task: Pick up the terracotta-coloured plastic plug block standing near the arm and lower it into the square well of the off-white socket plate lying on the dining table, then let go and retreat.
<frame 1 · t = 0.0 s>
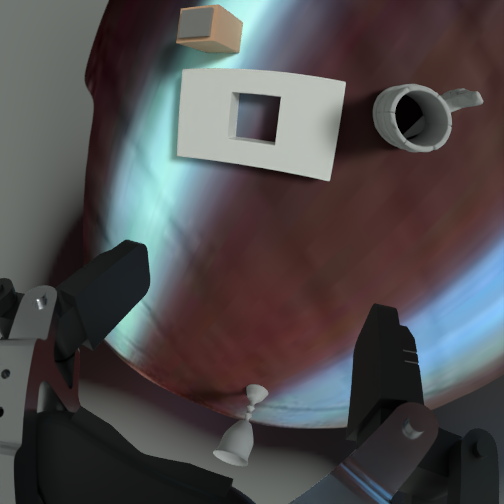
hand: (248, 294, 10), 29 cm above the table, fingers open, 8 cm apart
mug: (414, 110, 28), on the table
socket plate: (259, 117, 34), on the table
plug: (224, 37, 30), on the table
chalice: (257, 390, 60), on the table
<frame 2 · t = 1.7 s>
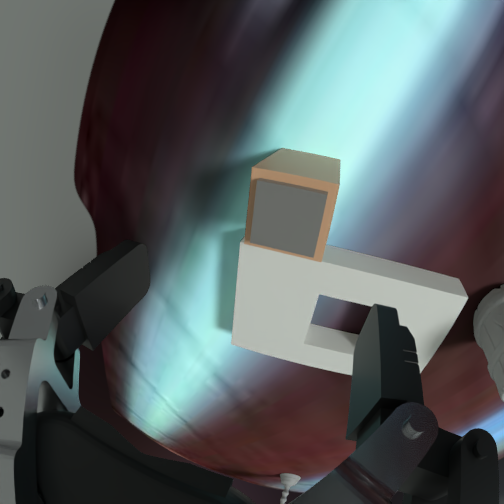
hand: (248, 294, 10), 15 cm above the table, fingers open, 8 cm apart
socket plate: (344, 307, 26), on the table
plug: (306, 181, 22), on the table
chalice: (290, 476, 52), on the table
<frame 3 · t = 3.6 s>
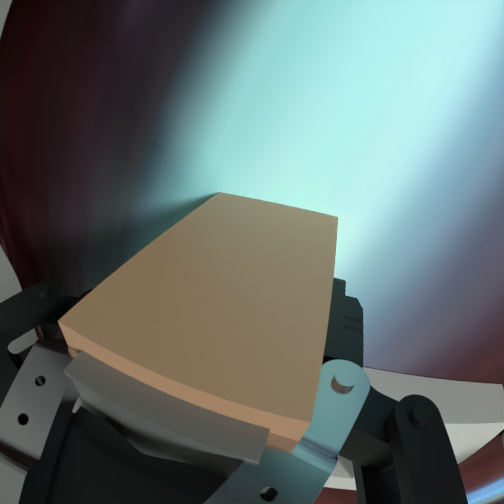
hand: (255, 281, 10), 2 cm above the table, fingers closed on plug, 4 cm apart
socket plate: (332, 421, 16), on the table
plug: (268, 257, 12), on the table, touching gripper
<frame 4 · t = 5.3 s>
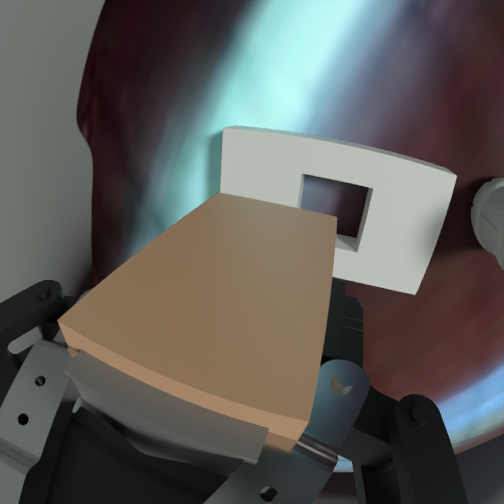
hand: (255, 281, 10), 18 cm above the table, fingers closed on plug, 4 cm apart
socket plate: (332, 203, 26), on the table
plug: (268, 256, 12), point 16 cm above the table, touching gripper
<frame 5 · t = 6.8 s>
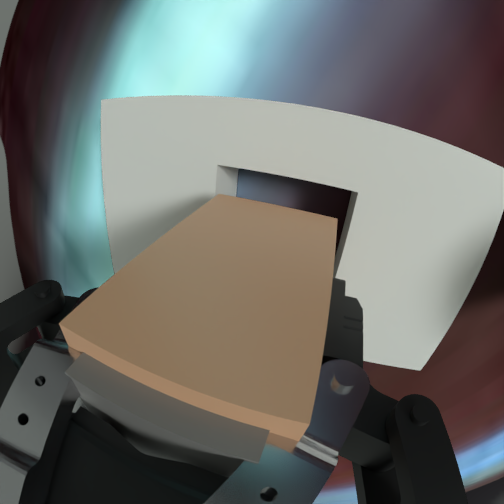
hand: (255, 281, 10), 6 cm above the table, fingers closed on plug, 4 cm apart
socket plate: (287, 218, 15), on the table
plug: (268, 258, 12), point 4 cm above the table, touching gripper
when the fingers open (4 cm above the table, at t = 7.6 s): plug drops 2 cm, resting in socket plate.
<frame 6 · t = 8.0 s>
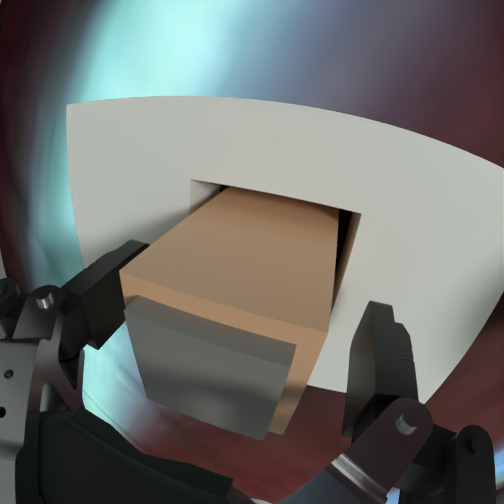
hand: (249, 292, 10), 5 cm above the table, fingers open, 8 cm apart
socket plate: (278, 237, 13), on the table
plug: (279, 238, 13), resting in socket plate
chalice: (259, 501, 39), on the table
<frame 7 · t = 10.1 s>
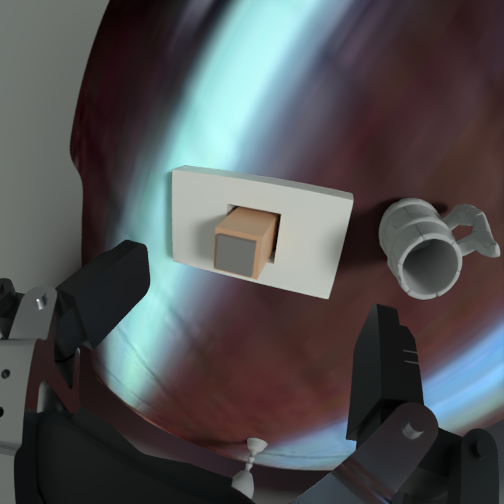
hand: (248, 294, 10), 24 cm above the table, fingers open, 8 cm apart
mug: (423, 219, 29), on the table
socket plate: (258, 225, 35), on the table
plug: (258, 225, 35), resting in socket plate
chalice: (257, 442, 58), on the table
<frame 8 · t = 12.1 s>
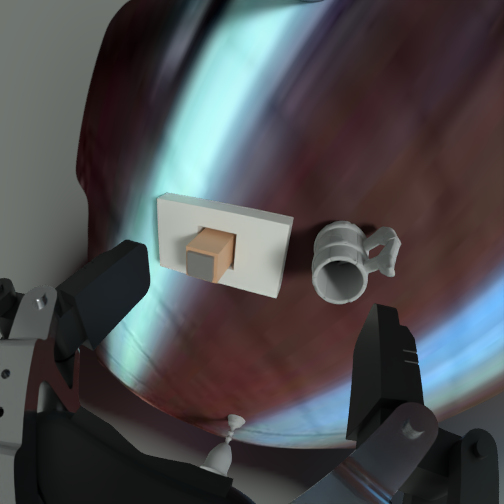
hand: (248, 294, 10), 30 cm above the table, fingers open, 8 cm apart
mug: (354, 237, 39), on the table
socket plate: (223, 239, 45), on the table
plug: (223, 239, 45), resting in socket plate
chalice: (236, 418, 70), on the table
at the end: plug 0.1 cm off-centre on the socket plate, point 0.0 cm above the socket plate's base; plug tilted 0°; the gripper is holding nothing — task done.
